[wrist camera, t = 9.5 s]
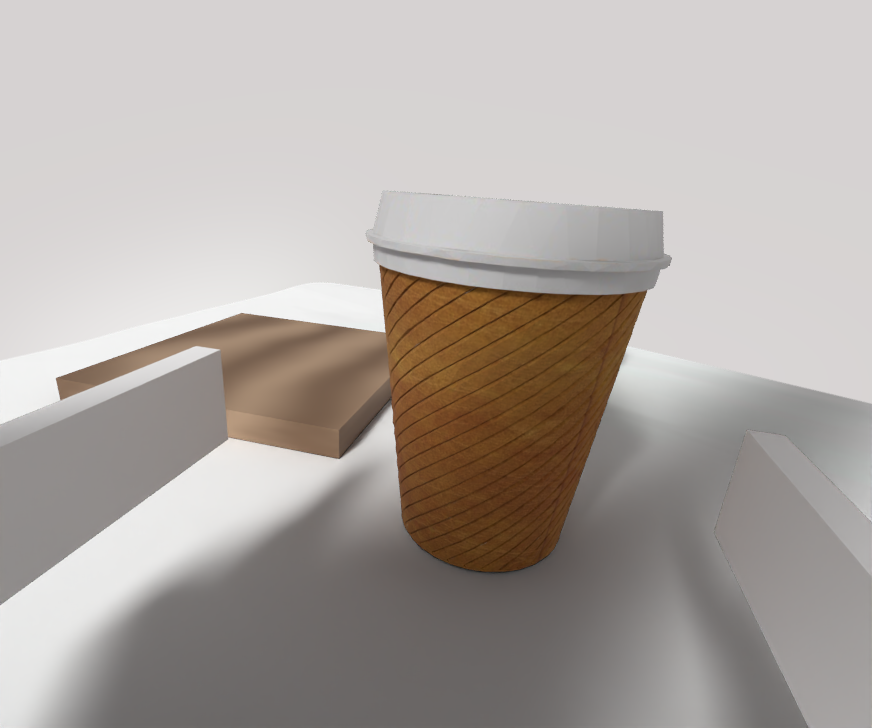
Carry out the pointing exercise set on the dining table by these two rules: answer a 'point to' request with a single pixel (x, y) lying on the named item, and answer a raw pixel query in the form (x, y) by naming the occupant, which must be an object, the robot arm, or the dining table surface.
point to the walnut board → (277, 379)
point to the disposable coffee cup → (503, 359)
